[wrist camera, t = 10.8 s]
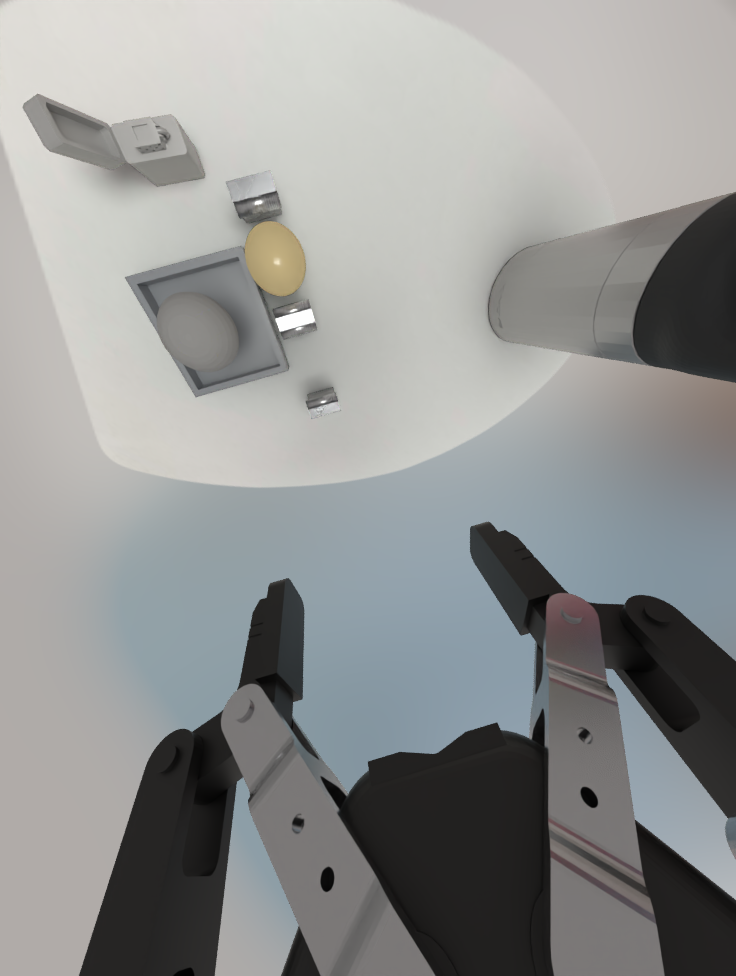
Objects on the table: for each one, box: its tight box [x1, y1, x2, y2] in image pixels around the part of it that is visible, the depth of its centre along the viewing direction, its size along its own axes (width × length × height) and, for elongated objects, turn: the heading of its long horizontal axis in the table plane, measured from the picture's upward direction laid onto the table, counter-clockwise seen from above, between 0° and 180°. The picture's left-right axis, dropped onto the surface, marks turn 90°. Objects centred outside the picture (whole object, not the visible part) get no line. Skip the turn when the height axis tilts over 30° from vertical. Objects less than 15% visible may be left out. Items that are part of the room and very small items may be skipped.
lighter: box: [23, 94, 205, 187], centre depth 18 cm, size 7×2×8 cm, turn 100°
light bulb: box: [157, 292, 239, 372], centre depth 23 cm, size 6×6×10 cm
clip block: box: [226, 170, 341, 419], centre depth 26 cm, size 3×17×6 cm, turn 13°
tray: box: [125, 246, 289, 397], centre depth 27 cm, size 10×10×2 cm
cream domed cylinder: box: [245, 221, 306, 296], centre depth 23 cm, size 4×4×8 cm
